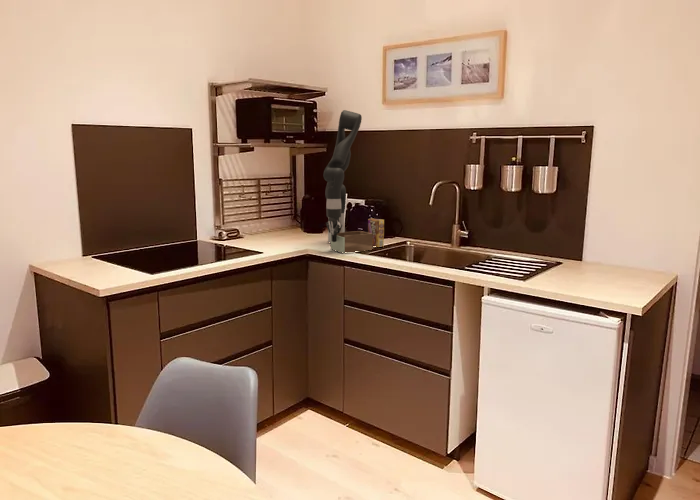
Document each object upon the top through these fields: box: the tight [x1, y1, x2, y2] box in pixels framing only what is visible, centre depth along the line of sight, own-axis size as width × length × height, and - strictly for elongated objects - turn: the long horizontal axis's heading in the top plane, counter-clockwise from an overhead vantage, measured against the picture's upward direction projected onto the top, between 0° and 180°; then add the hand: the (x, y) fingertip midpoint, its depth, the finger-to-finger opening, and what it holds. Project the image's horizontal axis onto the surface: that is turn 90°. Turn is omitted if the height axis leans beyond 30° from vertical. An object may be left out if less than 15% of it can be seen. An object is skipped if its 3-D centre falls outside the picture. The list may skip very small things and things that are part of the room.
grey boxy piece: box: [330, 236, 346, 254], centre depth 278 cm, size 13×17×8 cm
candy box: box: [367, 218, 385, 247], centre depth 289 cm, size 9×4×15 cm, turn 39°
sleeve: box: [337, 230, 374, 253], centre depth 279 cm, size 12×17×9 cm
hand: (333, 241), depth 272 cm, fingers closed
